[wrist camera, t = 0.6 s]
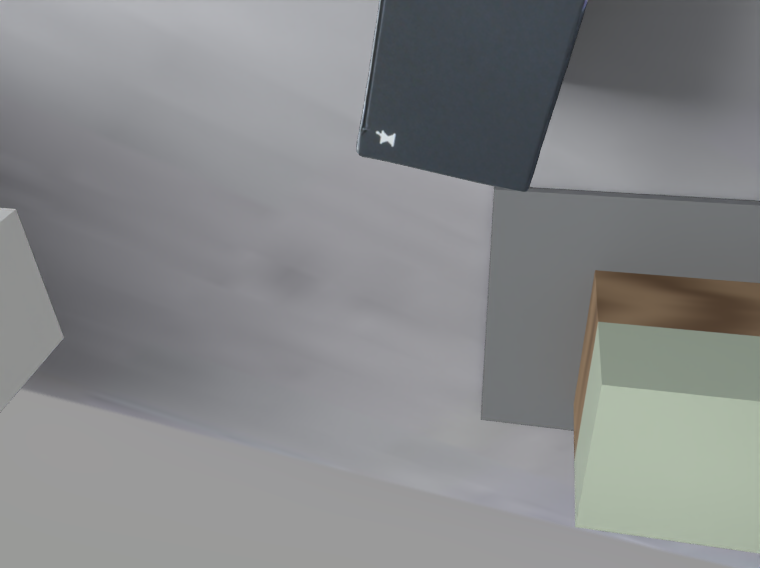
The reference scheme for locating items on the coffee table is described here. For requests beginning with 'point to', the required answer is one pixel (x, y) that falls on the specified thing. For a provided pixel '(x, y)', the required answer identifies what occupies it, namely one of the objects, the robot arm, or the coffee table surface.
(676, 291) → the tower bottom
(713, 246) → the felt mat
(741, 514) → the tower top
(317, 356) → the coffee table surface
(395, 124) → the box
